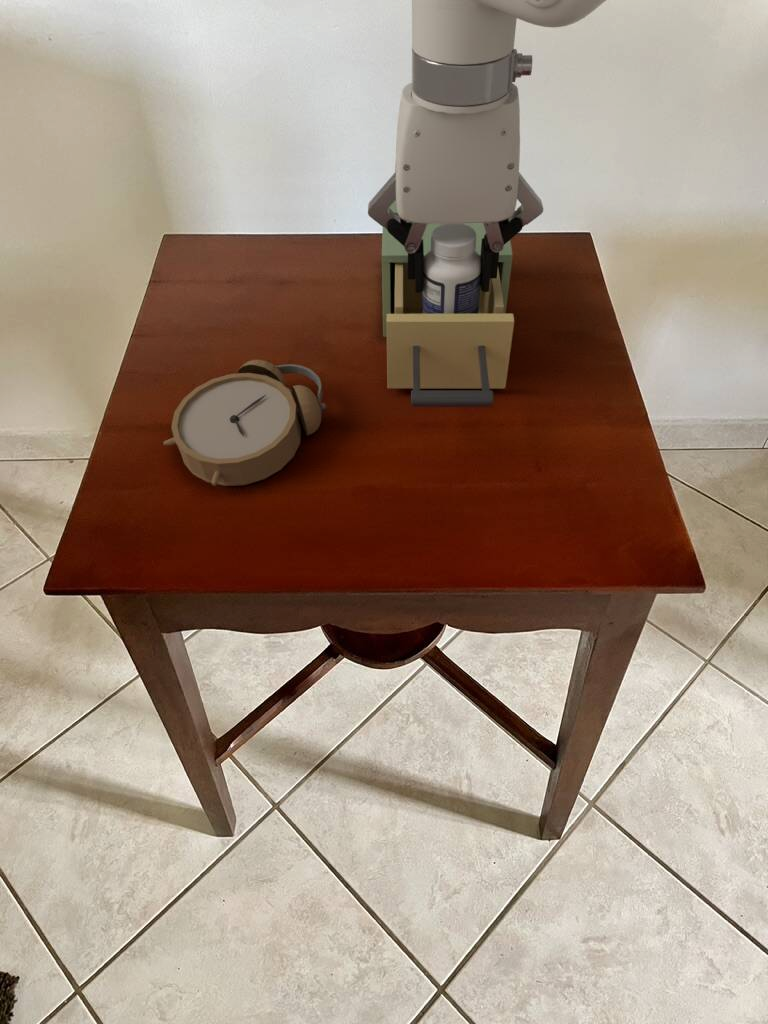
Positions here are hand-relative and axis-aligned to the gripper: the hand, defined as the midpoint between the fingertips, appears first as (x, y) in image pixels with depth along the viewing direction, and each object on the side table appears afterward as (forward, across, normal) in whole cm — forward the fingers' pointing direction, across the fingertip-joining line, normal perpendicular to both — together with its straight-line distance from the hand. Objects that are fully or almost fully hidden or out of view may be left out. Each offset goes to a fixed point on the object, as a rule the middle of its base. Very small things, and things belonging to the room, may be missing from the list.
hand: (451, 282), depth 72 cm
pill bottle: (+5, 0, 0) cm, 5 cm away
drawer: (+8, 0, +3) cm, 9 cm away
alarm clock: (+9, +18, +10) cm, 23 cm away
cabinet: (+9, 0, -11) cm, 14 cm away
